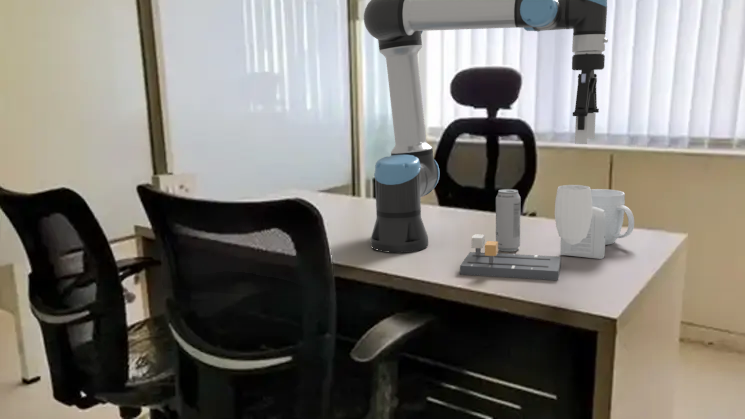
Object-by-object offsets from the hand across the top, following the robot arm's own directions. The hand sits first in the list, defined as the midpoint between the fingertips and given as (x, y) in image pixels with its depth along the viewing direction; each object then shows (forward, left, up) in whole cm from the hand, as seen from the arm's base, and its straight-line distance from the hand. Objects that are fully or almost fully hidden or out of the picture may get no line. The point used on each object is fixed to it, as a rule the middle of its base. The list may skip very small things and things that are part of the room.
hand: (585, 141), depth 162 cm
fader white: (-23, -24, -24) cm, 41 cm away
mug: (+5, +2, -27) cm, 27 cm away
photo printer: (0, -12, -27) cm, 29 cm away
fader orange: (-19, -30, -24) cm, 43 cm away
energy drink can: (-18, -9, -27) cm, 33 cm away
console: (-15, -27, -26) cm, 40 cm away
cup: (-1, -37, -27) cm, 46 cm away
